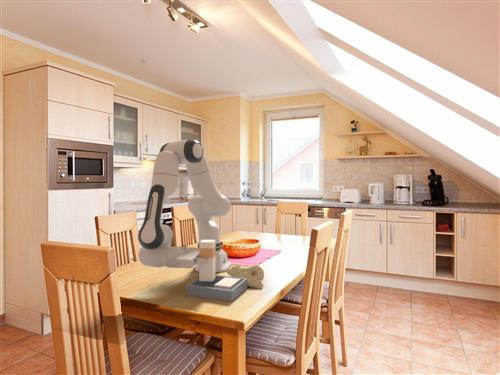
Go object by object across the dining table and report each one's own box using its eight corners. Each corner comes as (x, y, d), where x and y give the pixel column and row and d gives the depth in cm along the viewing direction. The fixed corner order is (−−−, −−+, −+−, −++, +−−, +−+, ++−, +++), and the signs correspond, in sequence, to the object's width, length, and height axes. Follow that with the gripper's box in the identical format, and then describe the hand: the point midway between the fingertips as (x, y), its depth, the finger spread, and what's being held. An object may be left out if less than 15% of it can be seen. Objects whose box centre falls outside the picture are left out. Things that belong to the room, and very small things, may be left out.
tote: (206, 284, 141) (206, 273, 141) (247, 290, 134) (247, 278, 134) (186, 297, 126) (186, 285, 126) (231, 304, 119) (231, 291, 119)
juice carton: (202, 276, 134) (202, 239, 134) (215, 277, 134) (215, 239, 133) (199, 281, 129) (199, 242, 128) (212, 281, 128) (212, 242, 128)
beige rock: (271, 290, 139) (256, 263, 149) (271, 282, 134) (256, 255, 143) (239, 305, 135) (226, 276, 144) (238, 297, 129) (225, 268, 139)
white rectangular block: (225, 287, 134) (225, 277, 134) (240, 289, 132) (240, 279, 132) (214, 295, 125) (214, 284, 125) (230, 298, 122) (230, 286, 122)
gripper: (168, 255, 122) (203, 256, 121) (185, 244, 142) (215, 245, 141) (168, 271, 122) (203, 272, 121) (185, 258, 143) (214, 259, 141)
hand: (209, 258), depth 131 cm, fingers closed on juice carton, 6 cm apart
